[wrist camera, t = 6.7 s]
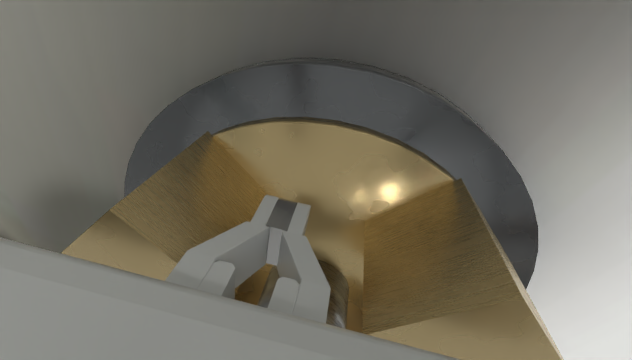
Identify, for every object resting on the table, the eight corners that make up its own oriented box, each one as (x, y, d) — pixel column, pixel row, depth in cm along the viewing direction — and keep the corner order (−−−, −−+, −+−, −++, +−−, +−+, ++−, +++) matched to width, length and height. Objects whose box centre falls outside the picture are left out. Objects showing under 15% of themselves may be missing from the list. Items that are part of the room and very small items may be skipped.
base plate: (651, 137, 12) (690, 156, 10) (417, 375, 25) (420, 398, 24) (104, -3, 12) (68, -4, 11) (162, 304, 25) (149, 322, 24)
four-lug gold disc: (357, 1, 9) (341, 2, 4) (549, 326, 16) (636, 482, 11) (96, 228, 18) (-16, 321, 13) (293, 374, 25) (272, 474, 20)
